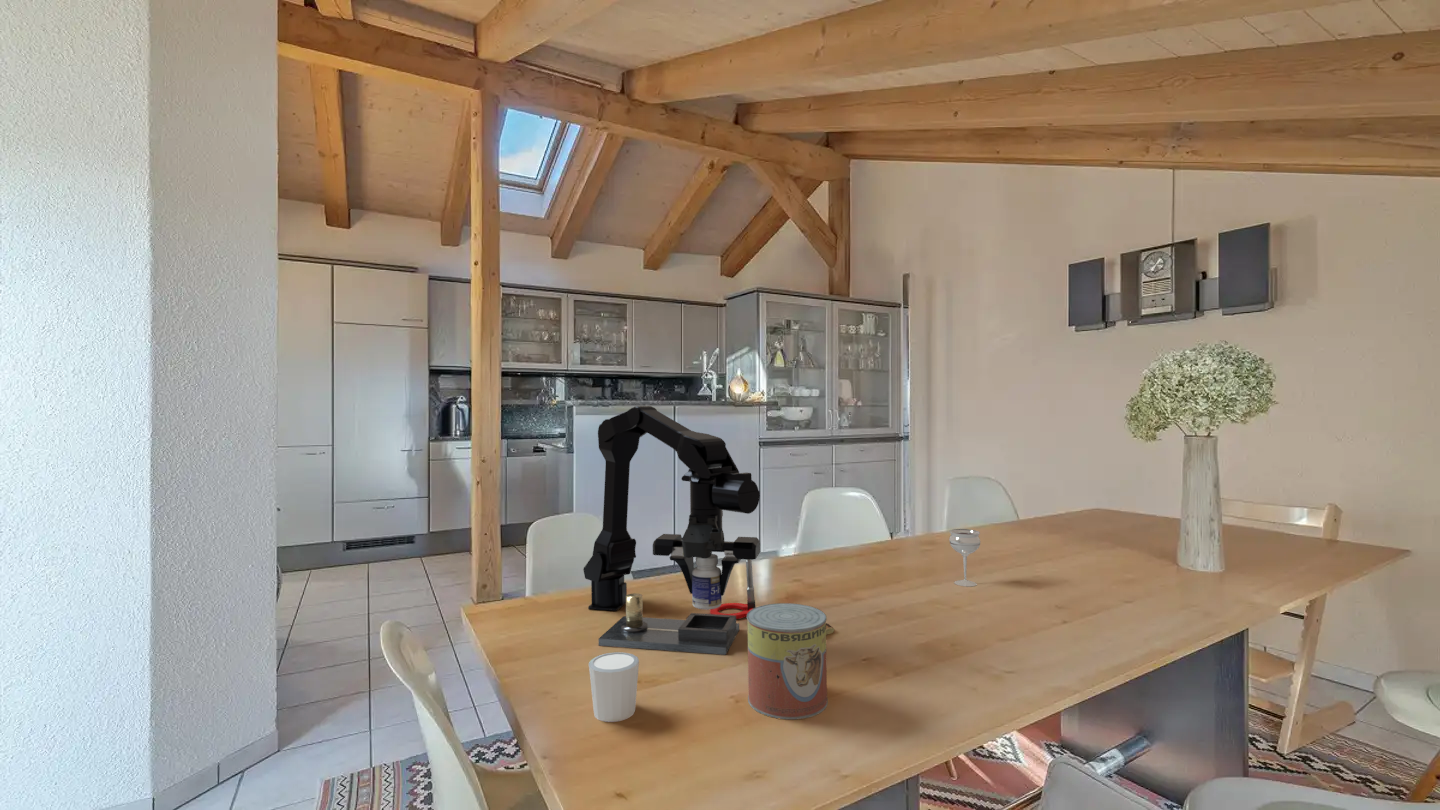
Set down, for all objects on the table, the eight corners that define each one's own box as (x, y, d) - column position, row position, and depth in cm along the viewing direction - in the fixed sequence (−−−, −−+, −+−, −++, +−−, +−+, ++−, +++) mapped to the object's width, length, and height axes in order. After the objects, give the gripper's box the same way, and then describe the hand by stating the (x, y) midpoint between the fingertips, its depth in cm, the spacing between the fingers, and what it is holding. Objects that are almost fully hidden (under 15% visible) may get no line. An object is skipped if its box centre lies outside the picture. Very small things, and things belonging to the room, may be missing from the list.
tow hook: (708, 622, 122) (756, 620, 122) (704, 556, 123) (752, 554, 122) (711, 609, 131) (755, 607, 130) (707, 547, 131) (752, 545, 130)
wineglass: (953, 587, 142) (952, 534, 142) (947, 578, 149) (946, 528, 149) (984, 588, 141) (983, 535, 141) (977, 579, 148) (976, 529, 148)
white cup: (592, 701, 89) (591, 652, 89) (640, 698, 90) (639, 650, 90) (586, 725, 82) (585, 672, 82) (638, 722, 83) (637, 670, 83)
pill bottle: (715, 611, 109) (715, 560, 109) (687, 608, 111) (687, 558, 110) (725, 602, 114) (725, 553, 114) (699, 599, 115) (698, 551, 115)
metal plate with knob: (598, 645, 110) (598, 604, 110) (623, 622, 122) (623, 585, 122) (725, 654, 105) (725, 612, 105) (739, 629, 117) (738, 591, 117)
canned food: (771, 726, 81) (770, 634, 82) (735, 691, 92) (733, 609, 92) (843, 709, 86) (842, 621, 86) (801, 677, 96) (800, 599, 96)
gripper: (641, 513, 106) (642, 605, 106) (749, 516, 102) (750, 612, 102) (661, 503, 117) (662, 586, 117) (760, 505, 113) (761, 592, 113)
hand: (707, 594), depth 112 cm, fingers closed on pill bottle, 5 cm apart
